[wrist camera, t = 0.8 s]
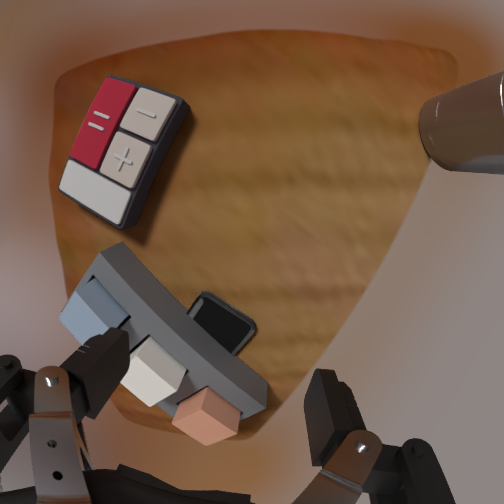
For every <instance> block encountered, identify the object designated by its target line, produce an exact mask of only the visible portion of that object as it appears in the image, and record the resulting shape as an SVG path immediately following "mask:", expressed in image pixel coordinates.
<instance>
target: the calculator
mask: <svg viewBox="0 0 504 504" xmlns="http://www.w3.org/2000/svg"><path fill="white" fill-rule="evenodd" d="M189 108H190V106H189V105H188V104H187V103H186V102H185V101H184V100H183V99H182V98H181V97H178V96H176V95H173V94H170V93H168V92H165V91H162V90H159V89H156V88H153V87H150V86H147V85H144V84H141V83H138V82H135V81H131V80H128V79H125V78H121V77H118V76H114V75H108V76H107V78H106V79H105V81H104V82H103V84H102V86H101V88H100V90H99V91H98V93H97V95H96V97H95V99H94V101H93V103H92V105H91V107H90V109H89V111H88V113H87V115H86V117H85V119H84V121H83V124H82V126H81V128H80V130H79V133H78V135H77V137H76V140H75V142H74V145H73V147H72V150H71V152H70V155H69V158H68V161H67V163H66V166H65V169H64V172H63V175H62V178H61V181H60V184H59V188H58V190H59V192H61V193H62V194H64V195H65V196H67V197H68V198H70V199H71V200H73V201H75V202H76V203H78V204H79V205H81V206H82V207H84V208H86V209H87V210H89V211H90V212H92V213H94V214H95V215H97V216H99V217H100V218H102V219H103V220H105V221H107V222H108V223H110V224H112V225H113V226H115V227H117V228H118V229H124V228H127V227H131V226H134V225H136V224H137V222H138V219H139V217H140V214H141V211H142V209H143V206H144V204H145V201H146V199H147V196H148V194H149V189H150V187H151V185H152V183H153V180H154V178H155V176H156V174H157V172H158V170H159V168H160V165H161V163H162V161H163V159H164V157H165V155H166V153H167V151H168V149H169V147H170V145H171V143H172V141H173V139H174V137H175V135H176V133H177V131H178V129H179V127H180V125H181V124H182V122H183V120H184V118H185V116H186V114H187V112H188V110H189Z"/></svg>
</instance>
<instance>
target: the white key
mask: <svg viewBox="0 0 504 504" xmlns="http://www.w3.org/2000/svg"><path fill="white" fill-rule="evenodd" d="M185 372H186V368H185V367H184V366H183V365H182V364H180V363H179V362H178V361H177V360H176V359H175V358H174V357H172V356H171V355H170V354H169V353H168V352H167V351H166V350H165V349H164V348H163V347H161V346H160V345H159V344H158V343H157V342H156V341H155V340H154V339H153V338H152V337H151V336H150V337H149V338H148V339H147V340H146V341H145V342H143V343H142V344H141V345H140V346H139V347H138V348H137V349H136V350H134V351H133V352H132V353H131V354H130V366H129V370H128V372H127V373H126V375H125V376H124V378H123V379H122V381H121V382H120V383H122V384H123V385H124V386H125V387H126V388H127V389H128V390H130V391H131V392H132V393H133V394H134V395H135V396H137V397H138V398H139V399H140V400H142V401H143V402H144V403H145V404H147V405H148V406H149V407H150V406H152V405H154V404H156V403H157V402H159V401H161V400H163V399H164V398H166V397H168V396H169V395H171V394H173V393H174V392H176V391H177V390H178V387H179V385H180V383H181V381H182V378H183V376H184V374H185Z"/></svg>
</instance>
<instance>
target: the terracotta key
mask: <svg viewBox="0 0 504 504" xmlns="http://www.w3.org/2000/svg"><path fill="white" fill-rule="evenodd" d="M240 413H241V411H240V410H239V409H237V408H236V407H235V406H233V405H232V404H230V403H229V402H228V401H226V400H225V399H224V398H222V397H221V396H220V395H218V394H217V393H216V392H215V391H213V390H212V389H211V388H209V387H206V388H204V389H203V390H201V391H199V392H198V393H196V394H194V395H192V396H191V397H189V398H187V399H185V400H184V401H182V402H180V404H179V406H178V409H177V411H176V414H175V416H174V419H173V421H172V424H173V425H175V426H176V427H178V428H179V429H180V430H182V431H183V432H185V433H186V434H188V435H189V436H191V437H193V438H194V439H196V440H197V441H199V442H200V443H202V444H204V445H205V446H207V445H210V444H213V443H215V442H218V441H221V440H223V439H226V438H228V437H231V436H233V435H236V434H237V432H238V425H239V419H240Z"/></svg>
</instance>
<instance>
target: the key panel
mask: <svg viewBox="0 0 504 504" xmlns="http://www.w3.org/2000/svg"><path fill="white" fill-rule="evenodd" d="M94 278H96V279H97V280H98V281H99V282H100V284H101V285H102V286H103V287H104V288H105V289H106V290H107V292H108V293H109V294H110V295H111V296H112V297H113V298H114V299H115V300H116V301H117V303H118V304H119V305H120V306H121V307H122V308H123V309H124V310H125V311H126V312H127V313H128V314H129V315H128V316H127V317H126V318H125V319H124V320H123V321H122V322H121V324H120V325H119V326H118V327H117V328H118V329H121V330H124V331H127V332H128V334H129V348H130V354H131V353H132V352H133V351H134V350H136V349H137V348H138V347H139V346H140V345H141V344H142V343H143V342H145V341H146V340H147V339H148V338H149V337H150V336H151V337H152V338H153V339H154V340H155V341H156V342H157V343H158V344H159V345H160V346H161V347H163V348H164V349H165V350H166V351H167V352H168V353H169V354H170V355H171V356H172V357H174V358H175V359H176V360H177V361H178V362H179V363H180V364H182V365H183V366H184V367H185V368H186V372H185V374H184V376H183V378H182V381H181V383H180V385H179V387H178V390H177V391H176V392H174V393H173V394H171V395H169V396H168V397H166V398H164V399H163V400H161V401H159V402H157V403H156V405H158V406H159V407H160V408H161V409H163V410H164V411H165V412H167V413H168V414H169V415H171V416H172V417H174V416H175V414H176V411H177V409H178V406H179V404H180V402H182V401H184V400H185V399H187V398H189V397H191V396H192V395H194V394H196V393H198V392H199V391H201V390H203V389H204V388H206V387H209V388H211V389H212V390H213V391H215V392H216V393H217V394H218V395H220V396H221V397H222V398H224V399H225V400H226V401H228V402H229V403H230V404H232V405H233V406H235V407H236V408H237V409H239V410H240V411H241V413H240V419H239V421H241V420H244V419H246V418H248V417H250V416H252V415H254V414H256V413H258V412H260V411H262V410H264V409H266V405H267V387H268V382H267V381H266V380H264V379H263V378H262V377H261V376H260V375H258V374H257V373H256V372H255V371H254V370H252V369H251V368H250V367H249V366H248V365H247V364H245V363H244V362H243V361H242V360H241V359H240V358H238V357H237V356H236V355H234V356H232V354H230V353H229V352H228V351H227V350H226V349H225V348H224V347H222V346H221V345H220V344H219V343H218V342H217V341H216V340H215V339H214V338H213V337H211V336H210V335H209V334H208V333H207V332H206V331H205V330H204V329H203V328H202V327H201V326H200V325H199V324H198V323H196V322H195V321H194V320H193V319H192V318H191V317H190V316H189V315H187V314H186V313H187V311H188V310H187V309H186V308H185V307H184V306H183V305H182V304H181V303H180V302H179V301H178V300H177V299H176V298H175V297H174V296H173V295H172V294H171V293H170V292H169V291H168V290H167V289H166V288H165V287H164V286H163V285H162V284H161V283H160V282H159V281H158V280H157V279H156V278H155V277H154V276H153V275H152V273H151V272H150V271H149V270H148V269H147V268H146V267H145V266H144V265H143V264H142V263H141V262H140V260H139V259H138V258H137V257H136V256H135V255H134V254H133V253H132V251H131V250H130V249H129V248H128V247H127V246H126V245H125V244H124V242H123V241H122V242H120V243H118V244H116V245H114V246H112V247H110V248H108V249H106V250H104V251H102V252H100V253H99V254H98V256H97V257H96V259H95V260H94V261H93V263H92V264H91V266H90V267H89V269H88V270H87V272H86V273H85V275H84V276H83V278H82V279H81V281H80V282H79V284H78V285H77V287H76V288H75V290H74V292H75V291H76V290H77V289H79V288H80V287H82V286H84V285H85V284H87V283H88V282H90V281H91V280H93V279H94ZM74 292H73V293H72V295H73V294H74ZM72 295H71V296H70V298H69V300H70V299H71V297H72ZM69 300H68V301H67V303H68V302H69ZM67 303H66V305H67ZM66 305H65V306H64V308H65V307H66ZM64 308H63V310H64ZM63 310H62V311H61V312H63Z"/></svg>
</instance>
